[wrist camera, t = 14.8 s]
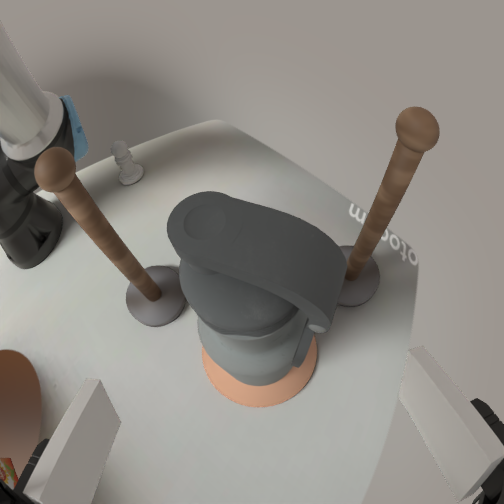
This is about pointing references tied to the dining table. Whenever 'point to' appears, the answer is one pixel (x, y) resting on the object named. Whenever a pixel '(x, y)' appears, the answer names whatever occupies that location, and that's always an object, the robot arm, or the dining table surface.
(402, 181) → the walnut post
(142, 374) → the dining table surface
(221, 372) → the glossy peach dome
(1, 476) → the cracker box
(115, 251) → the walnut post
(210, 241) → the water bottle
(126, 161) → the chess piece
